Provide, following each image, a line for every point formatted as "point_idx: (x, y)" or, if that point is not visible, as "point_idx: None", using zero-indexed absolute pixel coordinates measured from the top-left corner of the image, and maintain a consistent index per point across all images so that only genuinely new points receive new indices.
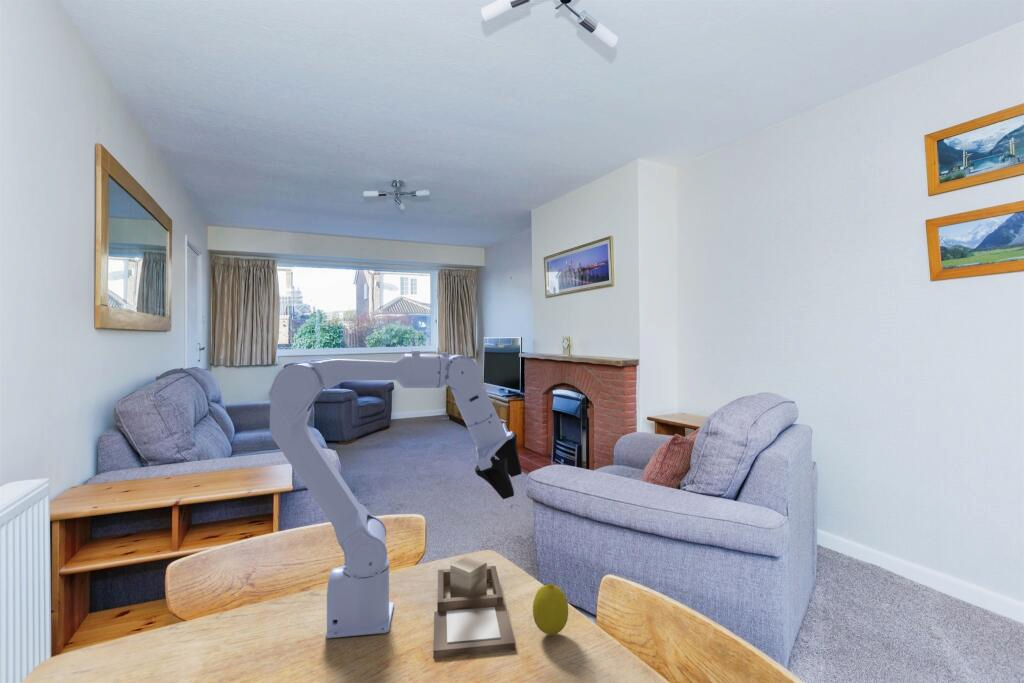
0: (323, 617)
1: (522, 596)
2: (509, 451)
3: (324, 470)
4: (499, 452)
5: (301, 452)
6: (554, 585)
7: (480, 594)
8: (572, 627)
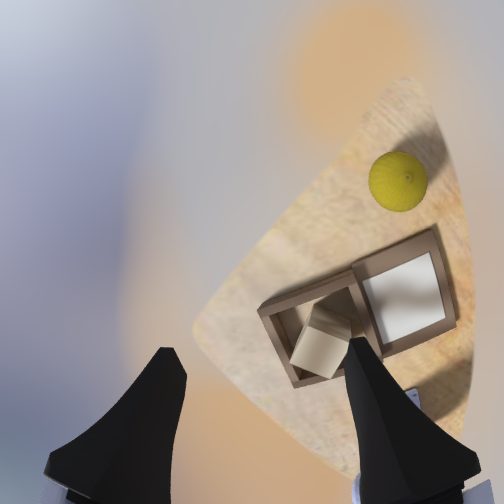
0: None
1: (302, 247)
2: (142, 455)
3: None
4: (160, 478)
5: None
6: (398, 171)
7: (327, 312)
8: (361, 155)
